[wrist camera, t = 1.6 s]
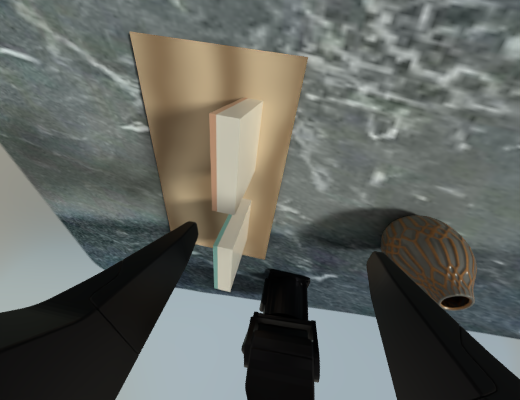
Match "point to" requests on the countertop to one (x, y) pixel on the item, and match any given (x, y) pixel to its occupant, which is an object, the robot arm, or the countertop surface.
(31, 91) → the countertop surface
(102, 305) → the robot arm
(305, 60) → the cork mat
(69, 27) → the countertop surface
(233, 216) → the teal tile
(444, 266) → the vase
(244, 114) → the terracotta tile
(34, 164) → the countertop surface
